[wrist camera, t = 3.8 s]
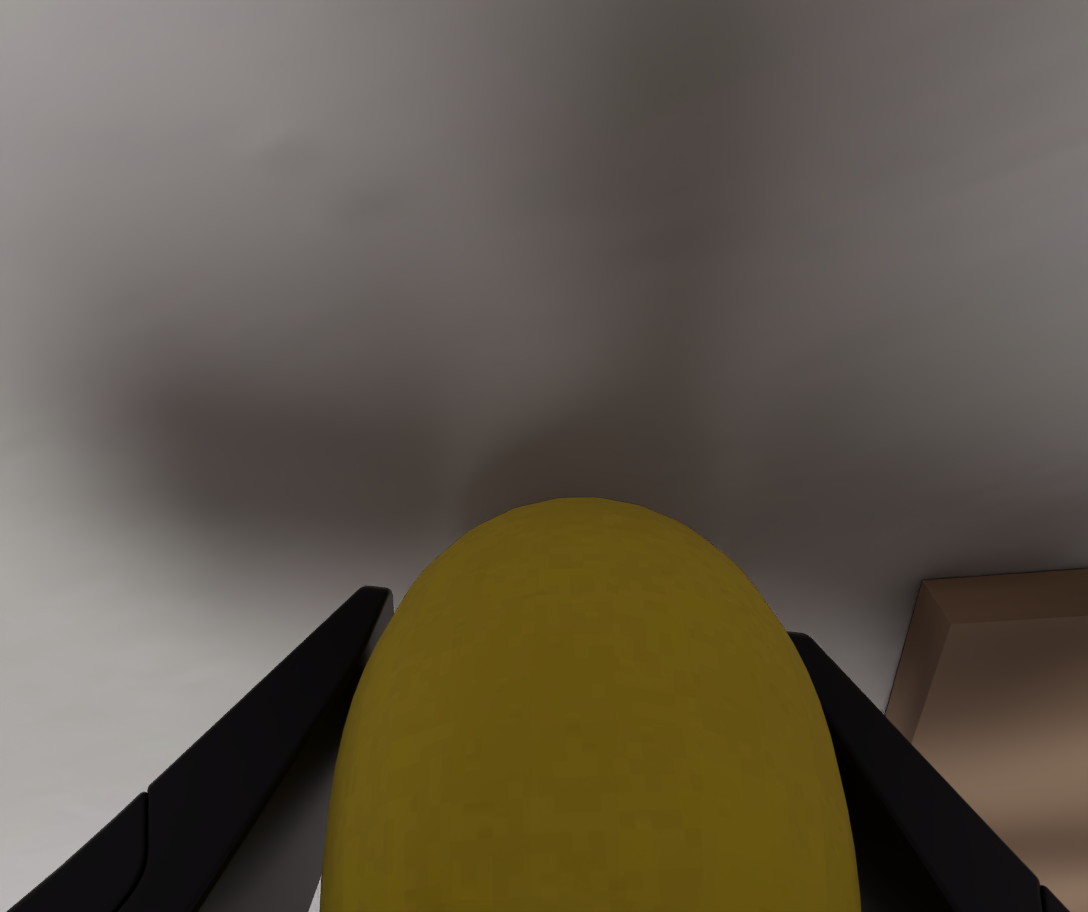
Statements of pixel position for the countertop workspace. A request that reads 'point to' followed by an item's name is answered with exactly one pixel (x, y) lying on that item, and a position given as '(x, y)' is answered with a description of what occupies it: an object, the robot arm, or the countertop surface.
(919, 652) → the walnut board
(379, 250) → the countertop surface
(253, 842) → the robot arm
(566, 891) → the lemon
